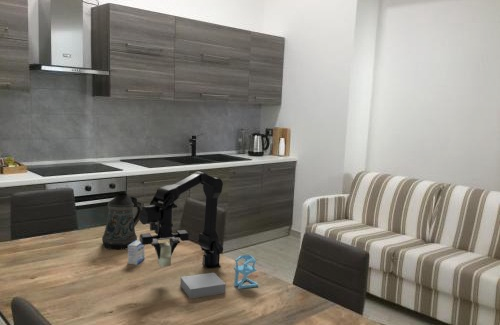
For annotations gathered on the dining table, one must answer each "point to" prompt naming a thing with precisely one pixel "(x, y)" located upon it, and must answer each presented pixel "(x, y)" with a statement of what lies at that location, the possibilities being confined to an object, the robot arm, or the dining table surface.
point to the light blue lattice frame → (245, 271)
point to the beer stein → (121, 222)
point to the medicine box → (136, 252)
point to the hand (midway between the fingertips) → (164, 257)
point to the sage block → (165, 255)
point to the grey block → (202, 285)
